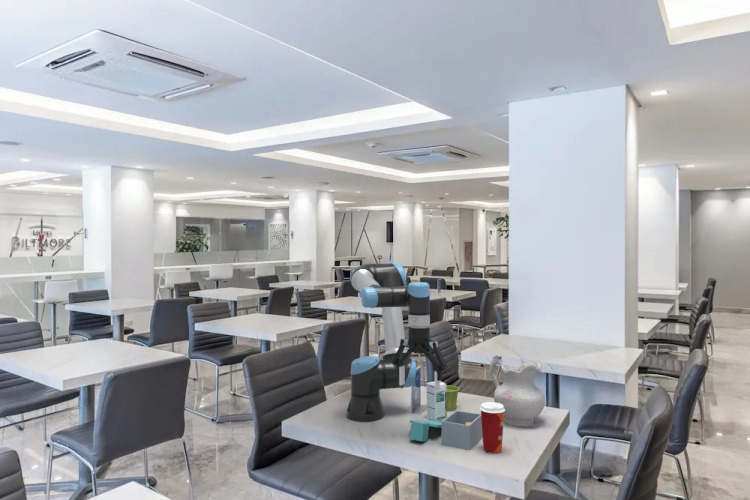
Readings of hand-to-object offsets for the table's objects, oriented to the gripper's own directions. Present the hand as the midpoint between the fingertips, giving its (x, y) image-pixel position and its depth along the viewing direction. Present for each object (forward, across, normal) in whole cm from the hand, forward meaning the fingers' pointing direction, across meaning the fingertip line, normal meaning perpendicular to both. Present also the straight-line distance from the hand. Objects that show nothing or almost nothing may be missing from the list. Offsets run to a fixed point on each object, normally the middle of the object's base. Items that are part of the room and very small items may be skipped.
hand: (419, 387), depth 178 cm
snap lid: (+21, 0, +8) cm, 22 cm away
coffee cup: (+19, +24, +6) cm, 32 cm away
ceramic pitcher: (+19, +23, +38) cm, 49 cm away
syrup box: (+19, -4, +25) cm, 32 cm away
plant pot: (+19, -6, +40) cm, 45 cm away
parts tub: (+19, +13, +8) cm, 24 cm away
